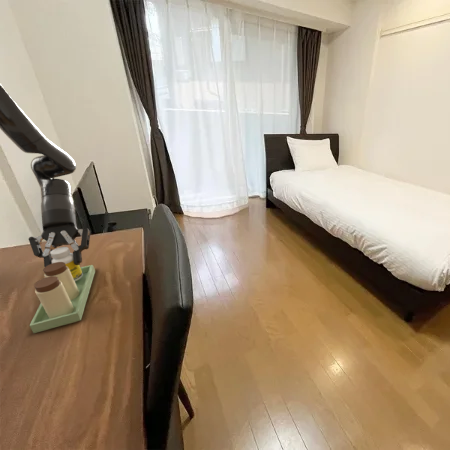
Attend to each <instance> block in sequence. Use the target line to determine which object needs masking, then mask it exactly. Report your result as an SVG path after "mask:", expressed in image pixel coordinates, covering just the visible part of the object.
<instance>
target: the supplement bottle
mask: <svg viewBox="0 0 450 450" xmlns="http://www.w3.org/2000/svg"><path fill="white" fill-rule="evenodd" d="M51 256H52V258H53V259H52V260H51V263H56V262H64V263H65V265H66V266H67V267H68V268H69V270H70V272H71V275H72V277H73V279H74V281H77V280H79V279H80V278H81V277H82V276H83V273H82V270H81V268H80V267H81V265H75V264H74V258H73V252H71V249H70V248H69V247H68V246H59V247H57V248H56V249H54V250H52V251H51Z"/></svg>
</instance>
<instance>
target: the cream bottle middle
mask: <svg viewBox="0 0 450 450" xmlns="http://www.w3.org/2000/svg"><path fill="white" fill-rule="evenodd" d="M42 271H43V273H44V274H43V276H44V278H46V277H51V276H56V277H58V279H59V281H61V282H62V284H63V286H64V288H65V290H66V292H67V294H68V296H69V299H70V300H73V299H74V298H76V297H77V296H78V295H79V293H80V292H79V290H78V288H77V286H76V283H75V281H74V279H73V277H72V275H71V272H70V270H69V268H68V267H67V266H66V265H65V263H64V262H56V263H52V264H50V265H48V266H46V267H43V270H42Z"/></svg>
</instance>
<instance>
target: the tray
mask: <svg viewBox="0 0 450 450" xmlns="http://www.w3.org/2000/svg"><path fill="white" fill-rule="evenodd" d="M80 268H81V270H82V273H83V276H82V277H81V278H80V279H79V280H77V281H75V283H76V286H77V288H78V290H79V292H80V293H79V295H78V296H77V297H76V298H74V299H73V300H70V301H71V303H72V305H73V307H74V311H73V312H72V313H71V314H67V315H63V316H59V317H55V318H52V319H50V318H49V317H48V315H47V313H46V311H45V309H44V307H43V306H42V304H41V303H40V304H39V305H38V307H37V310H36V312H35V313H34V316H33V318H32V320H31V322H30V324H29V328H30V330H31V331H32V333H33V334H36V333H40V332H43V331H47V330H51V329H54V328H58V327H61V326H65V325H69V324H72V323H77V322H79V321H82V318H83V314H84V311H85V307H86V304H87V301H88V298H89V295H90V291H91V287H92V284H93V280H94V277H95V274H96V269H95V267H94V264H90V265H85V266H80Z"/></svg>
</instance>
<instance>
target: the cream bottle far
mask: <svg viewBox="0 0 450 450" xmlns="http://www.w3.org/2000/svg"><path fill="white" fill-rule="evenodd" d="M33 287H34V289H35V290H34V292H35V294H36V297H37V299H38V300H39V302H40V304H42V306H43V307H44V309H45V311H46V313H47V315H48V317H49V318H50V319H52V318H55V317H59V316H63V315H67V314H71V313H72V312H73V311H74V307H73V305H72V303H71V301H70V299H69V296H68V294H67V292H66V290H65V288H64V286H63V284H62V282H61V281H59V279H58V277H56V276H51V277H46V278H45V277H43V278H41V279H39V280H38V281H36V282H35V283H34V285H33Z"/></svg>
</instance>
